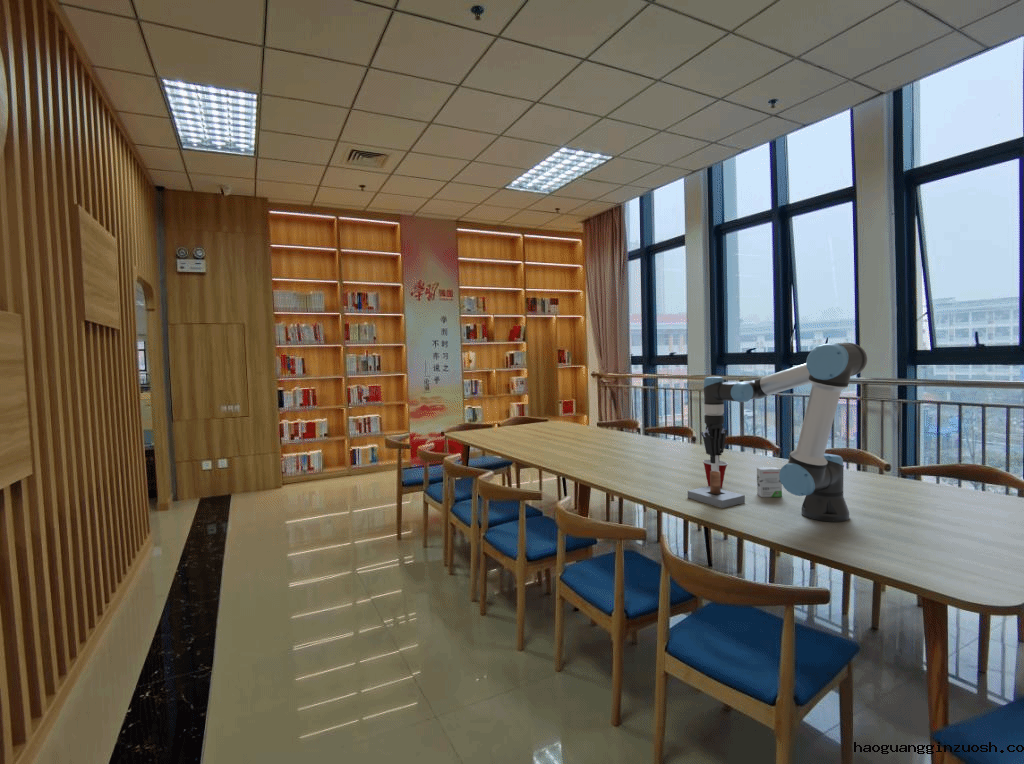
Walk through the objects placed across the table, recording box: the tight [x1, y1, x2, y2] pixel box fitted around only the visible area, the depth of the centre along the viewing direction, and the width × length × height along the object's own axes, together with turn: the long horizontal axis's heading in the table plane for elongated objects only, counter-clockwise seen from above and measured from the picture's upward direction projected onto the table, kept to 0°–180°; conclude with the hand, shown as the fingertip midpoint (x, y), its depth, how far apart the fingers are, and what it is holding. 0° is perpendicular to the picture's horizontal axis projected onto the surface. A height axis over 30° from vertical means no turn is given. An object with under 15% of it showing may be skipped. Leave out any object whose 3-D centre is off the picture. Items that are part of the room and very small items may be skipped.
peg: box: [710, 471, 722, 496], centre depth 217 cm, size 4×4×12 cm
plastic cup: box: [702, 459, 729, 489], centre depth 237 cm, size 11×11×12 cm
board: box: [687, 485, 746, 509], centre depth 217 cm, size 18×13×3 cm
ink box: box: [756, 466, 783, 498], centre depth 220 cm, size 9×5×12 cm, turn 83°
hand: (715, 470), depth 216 cm, fingers closed
